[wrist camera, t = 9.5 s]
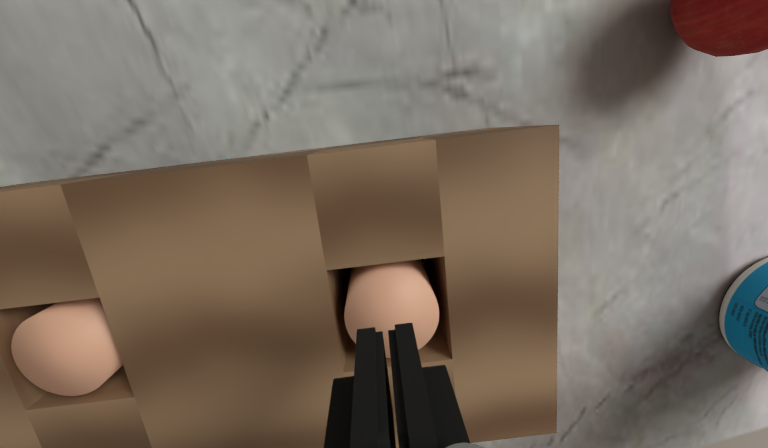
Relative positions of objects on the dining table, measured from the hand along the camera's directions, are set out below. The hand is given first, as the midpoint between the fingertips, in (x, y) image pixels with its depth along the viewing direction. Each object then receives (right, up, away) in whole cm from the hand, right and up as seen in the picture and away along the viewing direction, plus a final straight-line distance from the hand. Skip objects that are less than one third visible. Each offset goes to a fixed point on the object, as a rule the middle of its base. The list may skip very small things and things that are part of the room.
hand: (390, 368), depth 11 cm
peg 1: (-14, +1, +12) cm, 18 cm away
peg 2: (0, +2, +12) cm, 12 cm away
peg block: (-7, +2, +12) cm, 14 cm away
